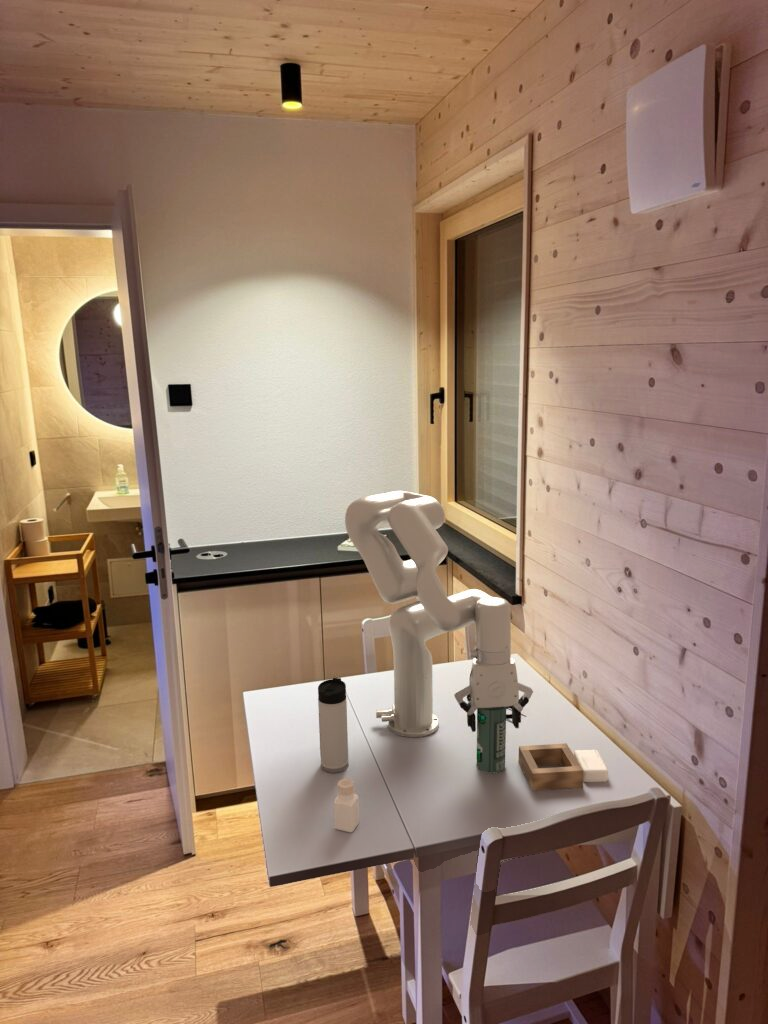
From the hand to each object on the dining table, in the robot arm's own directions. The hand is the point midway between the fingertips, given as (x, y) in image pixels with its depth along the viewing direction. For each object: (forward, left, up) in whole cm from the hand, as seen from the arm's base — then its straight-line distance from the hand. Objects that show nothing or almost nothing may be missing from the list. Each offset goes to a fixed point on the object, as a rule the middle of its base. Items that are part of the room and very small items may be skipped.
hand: (494, 727), depth 161 cm
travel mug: (-35, +5, -10) cm, 37 cm away
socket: (+12, -4, -10) cm, 16 cm away
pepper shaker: (-33, -17, -10) cm, 39 cm away
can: (0, +1, -10) cm, 10 cm away
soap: (+21, -4, -10) cm, 24 cm away
